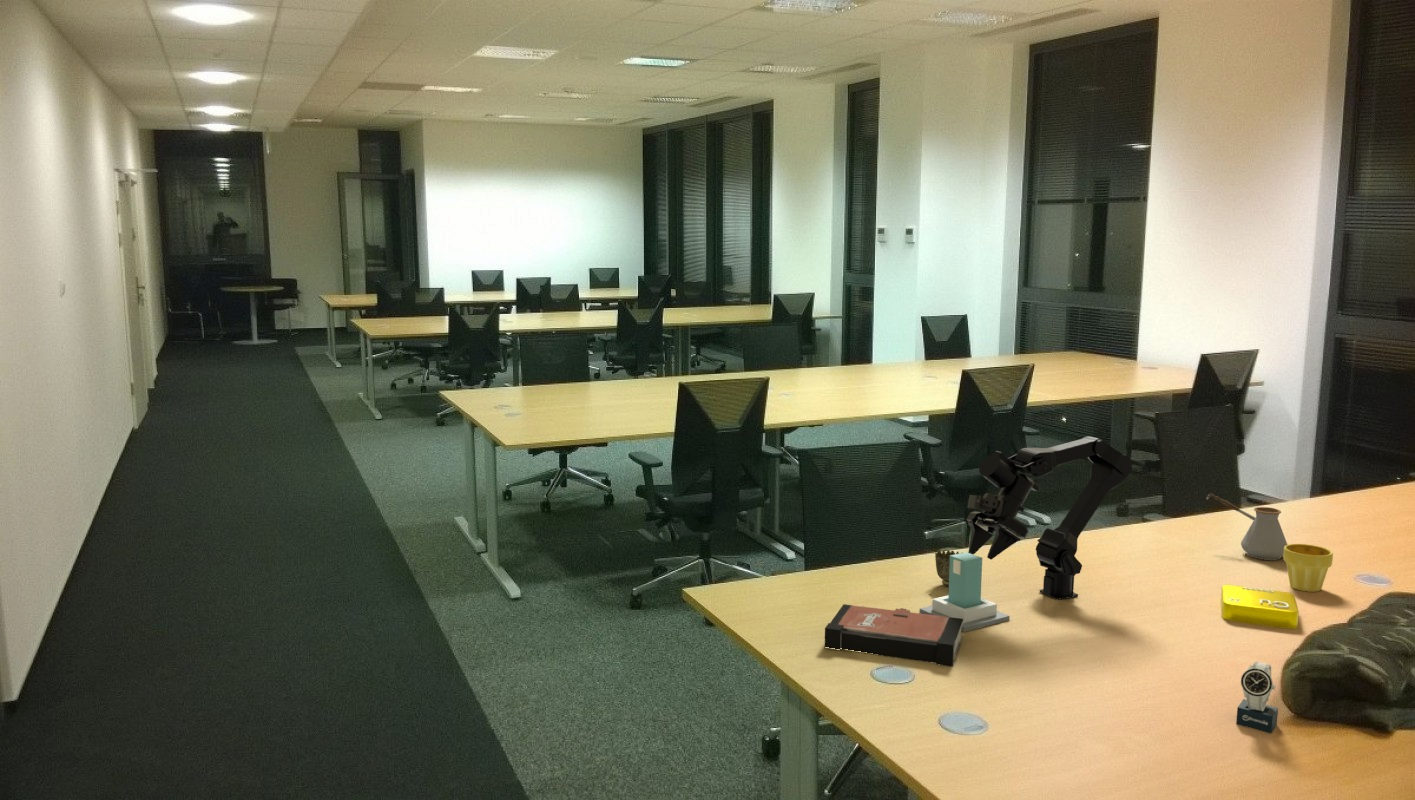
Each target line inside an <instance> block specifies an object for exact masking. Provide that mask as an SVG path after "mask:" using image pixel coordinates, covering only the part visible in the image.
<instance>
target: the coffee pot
mask: <svg viewBox="0 0 1415 800" xmlns="http://www.w3.org/2000/svg"><path fill="white" fill-rule="evenodd" d="M1210 497H1211V498H1213V499H1215V501H1218V502H1219V503H1221V504H1222V505H1224V506H1226V507H1228V508H1230V509H1232V510H1234V511H1236V512H1238V513H1240V514H1241V515H1243V516H1245V517H1246V518H1249V519H1250V520H1252V523H1251V524H1250V526H1249V528H1248V529H1247V531H1246V533H1245V534H1244V536H1243V538H1242V540H1241V542H1240V545H1241V548H1242V550H1243V551H1244V552H1246V553H1247V555H1248V556H1249V557H1251V558H1253V557H1254V559H1257V558H1258V559H1257V560H1263V559H1264V561H1278V560H1281V557H1284V547H1285V546H1286V545H1289V544H1288V542H1287V539H1286V537H1285V534H1284V532H1283V529H1282V526H1281V524H1280V522H1279V519H1278V518H1279V515H1281V513H1282V511H1281V510H1280V509H1277V508H1275V507H1274V508H1273V507H1268V506H1267V507H1266V506H1259V507H1258V506H1257V507H1254V509H1253V511H1255V516H1254V515H1251V514H1250V513H1248V512H1246V511H1244V510H1242V509H1240V508H1239V507H1237V506H1236V505H1234V504H1233V503H1231V502H1229V501H1228V500H1226V499H1223V498H1221V497H1219V496H1218V495H1217V496H1216V495H1215V494H1214V493H1211V492H1209V494H1208V495H1207V496H1206V499H1205V500H1209V498H1210ZM1277 559H1278V560H1277Z"/></svg>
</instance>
